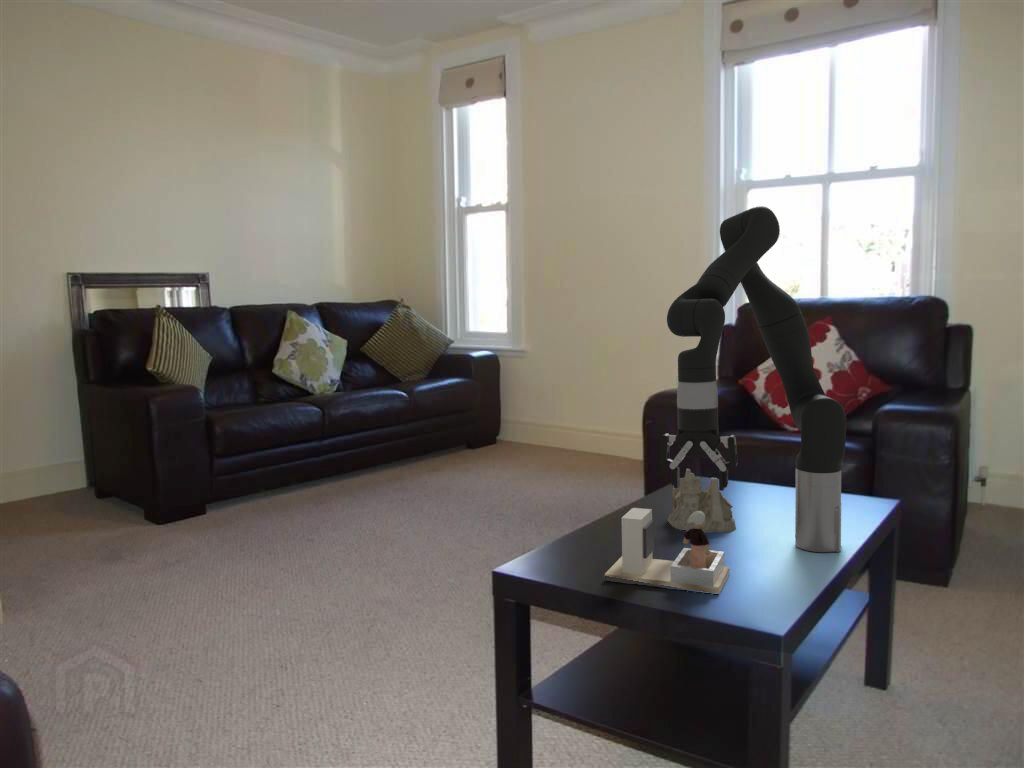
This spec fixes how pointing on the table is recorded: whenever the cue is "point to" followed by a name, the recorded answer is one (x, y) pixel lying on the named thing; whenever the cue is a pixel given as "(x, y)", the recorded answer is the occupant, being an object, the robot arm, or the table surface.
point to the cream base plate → (665, 576)
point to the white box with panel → (637, 540)
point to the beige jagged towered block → (701, 505)
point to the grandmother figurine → (697, 540)
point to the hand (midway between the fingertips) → (699, 488)
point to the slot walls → (697, 569)
